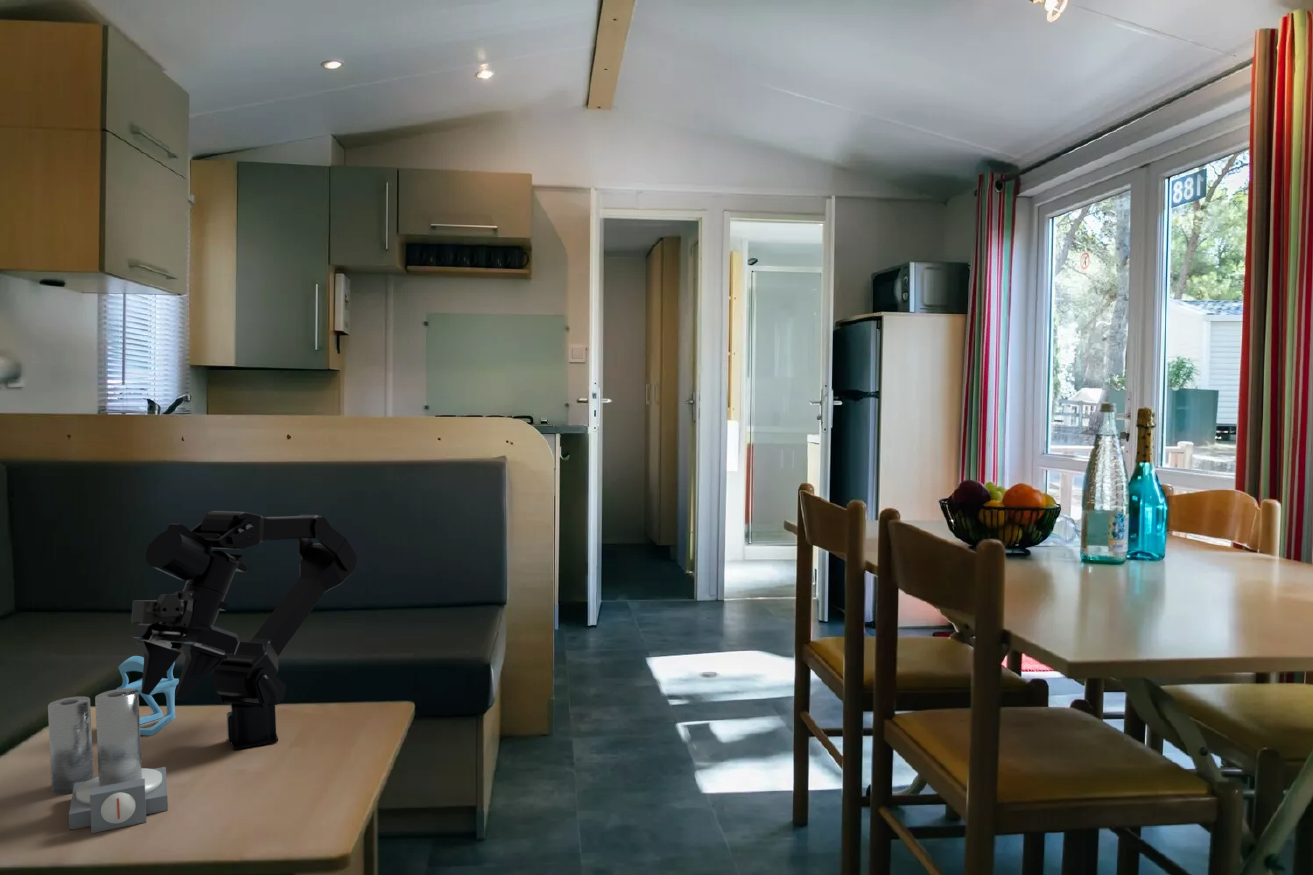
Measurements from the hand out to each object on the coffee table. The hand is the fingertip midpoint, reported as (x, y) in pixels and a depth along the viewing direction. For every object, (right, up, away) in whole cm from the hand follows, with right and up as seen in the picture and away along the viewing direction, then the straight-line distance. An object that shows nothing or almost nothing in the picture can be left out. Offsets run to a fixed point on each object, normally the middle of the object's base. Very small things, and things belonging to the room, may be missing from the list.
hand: (161, 696), depth 133 cm
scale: (-1, -12, -8) cm, 15 cm away
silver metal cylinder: (-2, -10, -7) cm, 12 cm away
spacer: (-12, -12, -1) cm, 17 cm away
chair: (-14, -11, +23) cm, 30 cm away
